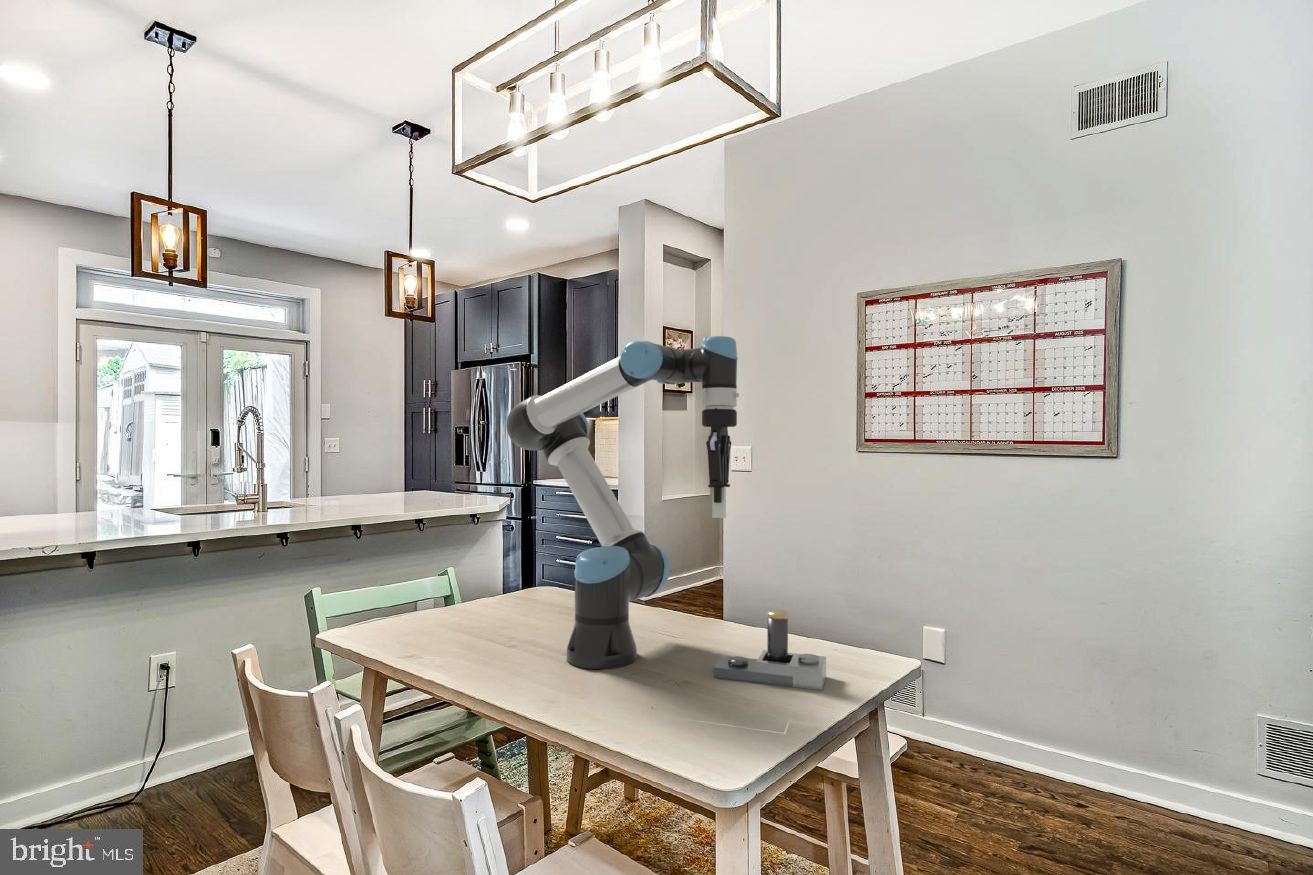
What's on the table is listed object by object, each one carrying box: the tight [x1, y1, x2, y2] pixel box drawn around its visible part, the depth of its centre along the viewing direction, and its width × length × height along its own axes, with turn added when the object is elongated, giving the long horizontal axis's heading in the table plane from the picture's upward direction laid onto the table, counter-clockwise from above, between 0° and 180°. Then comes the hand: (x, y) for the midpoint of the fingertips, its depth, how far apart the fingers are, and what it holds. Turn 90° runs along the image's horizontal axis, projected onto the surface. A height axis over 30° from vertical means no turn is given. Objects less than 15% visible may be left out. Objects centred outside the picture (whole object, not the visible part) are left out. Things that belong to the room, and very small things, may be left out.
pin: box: [766, 609, 789, 663], centre depth 135 cm, size 4×4×13 cm
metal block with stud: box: [713, 649, 827, 691], centre depth 136 cm, size 21×8×5 cm, turn 71°
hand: (719, 517), depth 148 cm, fingers closed
